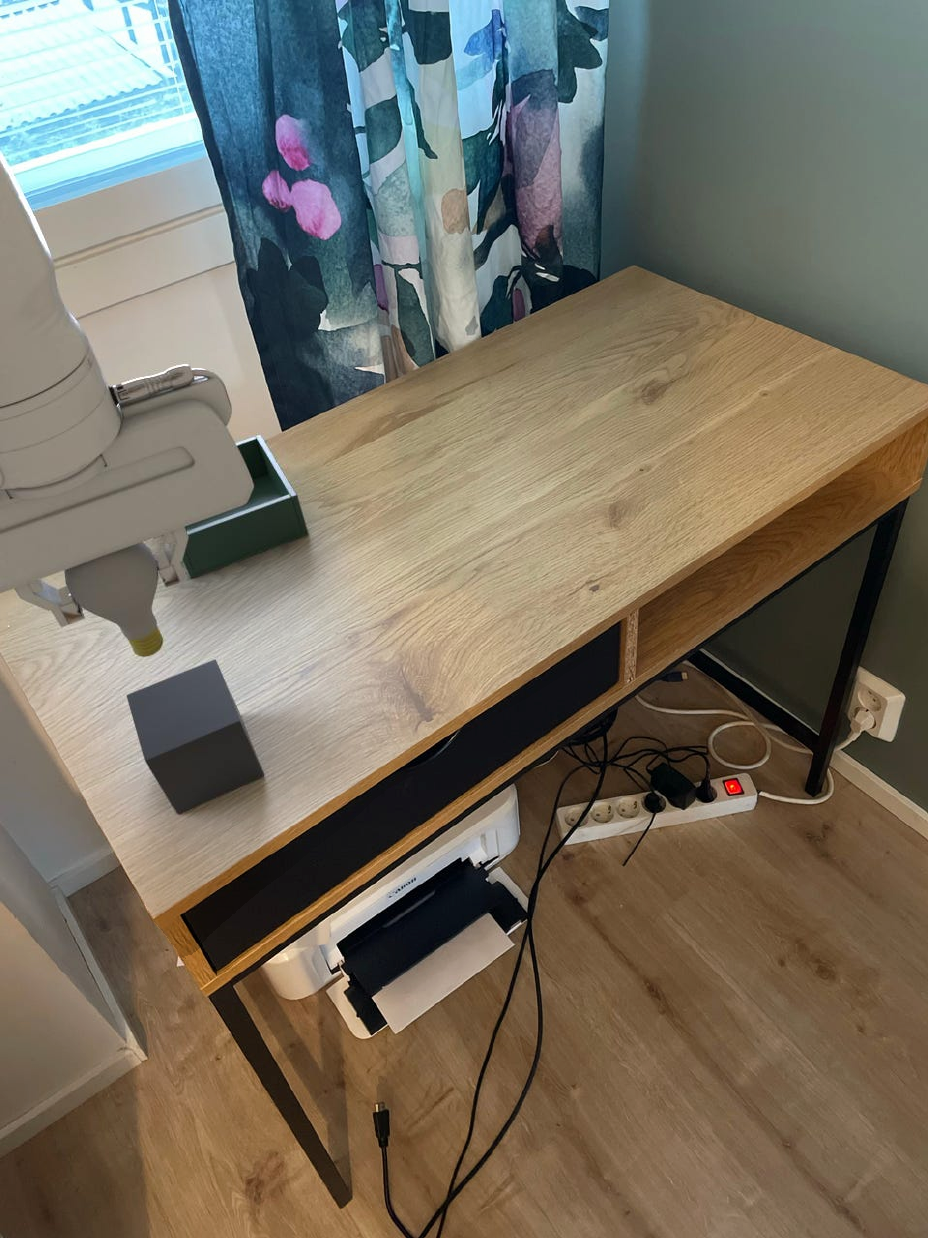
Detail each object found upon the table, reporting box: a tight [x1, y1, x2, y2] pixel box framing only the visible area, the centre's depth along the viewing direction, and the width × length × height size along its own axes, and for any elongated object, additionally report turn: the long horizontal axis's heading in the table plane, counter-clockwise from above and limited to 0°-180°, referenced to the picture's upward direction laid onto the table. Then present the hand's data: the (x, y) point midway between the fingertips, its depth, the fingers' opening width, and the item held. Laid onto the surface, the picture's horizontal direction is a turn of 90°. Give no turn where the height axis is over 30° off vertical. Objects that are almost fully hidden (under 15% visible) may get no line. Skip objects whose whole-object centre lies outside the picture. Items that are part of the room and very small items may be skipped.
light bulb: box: [63, 541, 164, 658], centre depth 58 cm, size 5×6×10 cm
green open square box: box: [182, 434, 309, 580], centre depth 90 cm, size 12×12×5 cm
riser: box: [126, 659, 265, 815], centre depth 68 cm, size 7×7×7 cm
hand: (123, 597), depth 58 cm, fingers closed on light bulb, 5 cm apart
